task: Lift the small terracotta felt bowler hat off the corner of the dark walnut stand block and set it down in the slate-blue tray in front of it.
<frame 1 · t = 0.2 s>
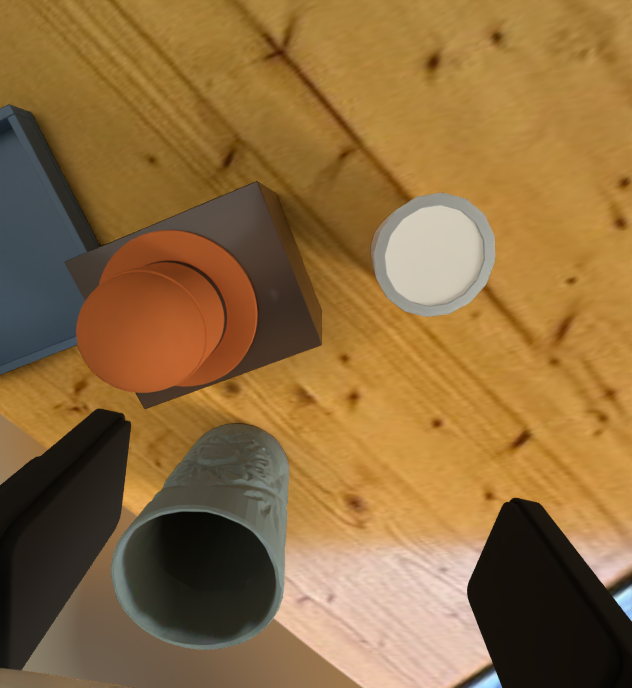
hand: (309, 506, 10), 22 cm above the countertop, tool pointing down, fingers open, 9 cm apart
shot glass: (408, 249, 30), on the countertop
hat: (179, 311, 22), point 9 cm above the countertop, touching stand block
grey-green cup: (237, 464, 35), on the countertop
tray: (10, 256, 30), on the countertop
stand block: (231, 281, 30), on the countertop
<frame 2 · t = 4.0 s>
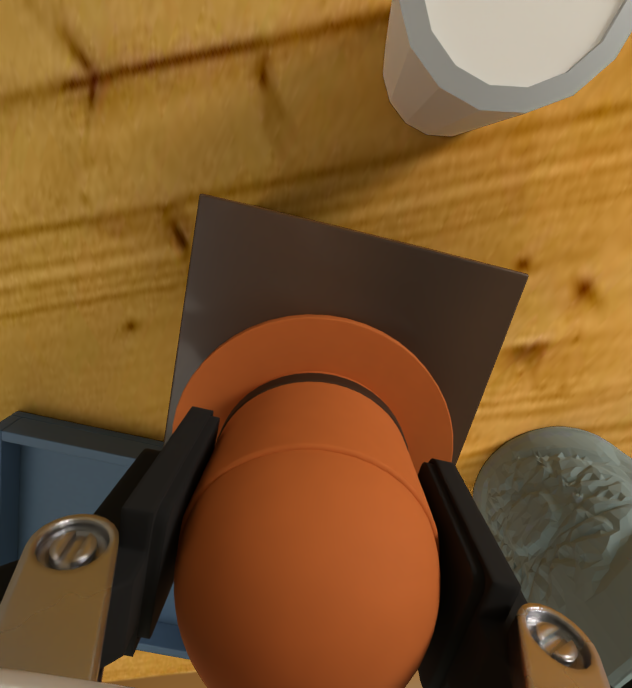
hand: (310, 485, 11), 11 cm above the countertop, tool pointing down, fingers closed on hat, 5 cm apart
shot glass: (447, 65, 18), on the countertop
hat: (312, 447, 13), point 9 cm above the countertop, touching gripper, stand block
grey-green cup: (540, 489, 24), on the countertop
tray: (142, 534, 25), on the countertop
stand block: (320, 337, 21), on the countertop
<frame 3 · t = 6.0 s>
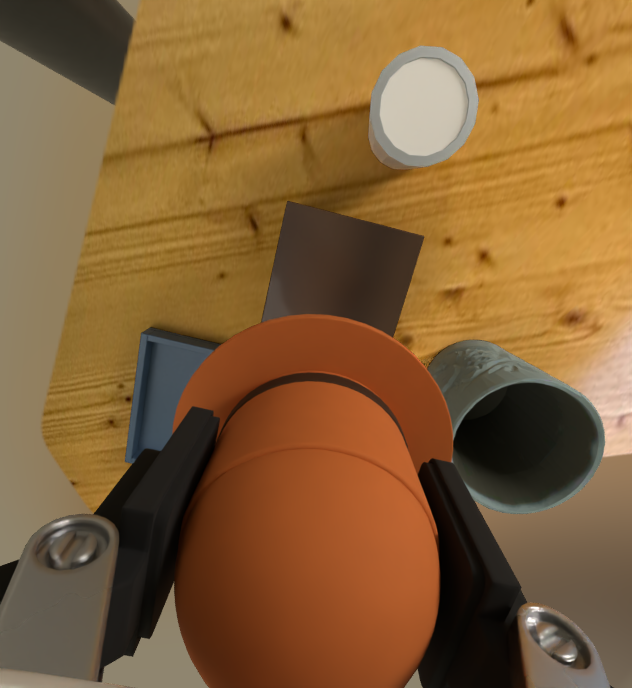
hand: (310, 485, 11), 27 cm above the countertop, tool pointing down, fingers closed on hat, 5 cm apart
shot glass: (402, 132, 33), on the countertop
hat: (312, 447, 13), point 25 cm above the countertop, touching gripper
grey-green cup: (465, 382, 39), on the countertop
tray: (219, 409, 40), on the countertop
stand block: (331, 283, 36), on the countertop
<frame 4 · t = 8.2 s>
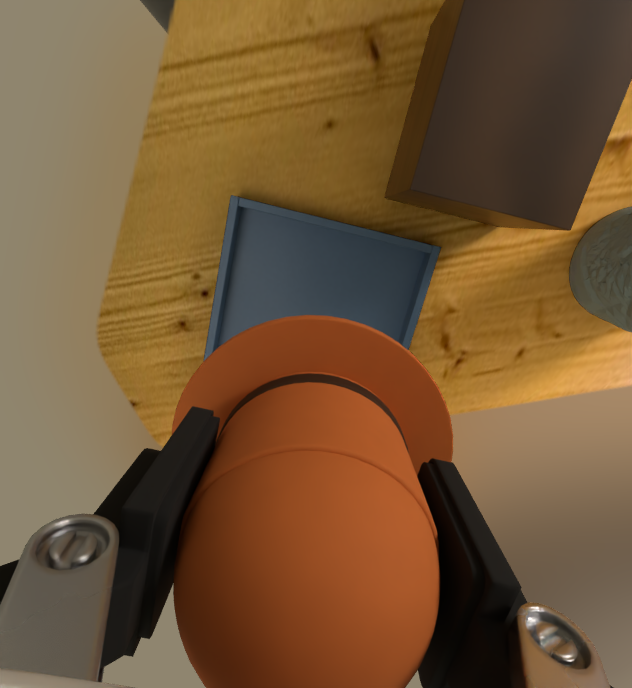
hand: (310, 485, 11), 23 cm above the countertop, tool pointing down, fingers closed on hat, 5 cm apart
hat: (312, 448, 13), point 21 cm above the countertop, touching gripper
grey-green cup: (619, 265, 31), on the countertop
tray: (316, 305, 32), on the countertop
stand block: (467, 132, 29), on the countertop
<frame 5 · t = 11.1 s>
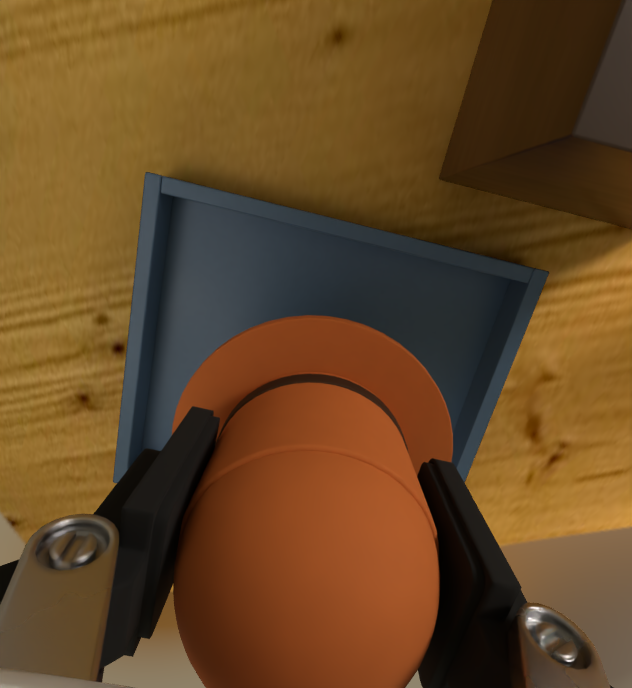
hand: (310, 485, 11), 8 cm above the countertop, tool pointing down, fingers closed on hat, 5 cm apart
hat: (312, 448, 13), point 6 cm above the countertop, touching gripper
tray: (312, 369, 19), on the countertop
stand block: (603, 52, 15), on the countertop
when the fingers open (2 cm above the countertop, at t = 12.9 s): hat stays where it is, resting on tray.
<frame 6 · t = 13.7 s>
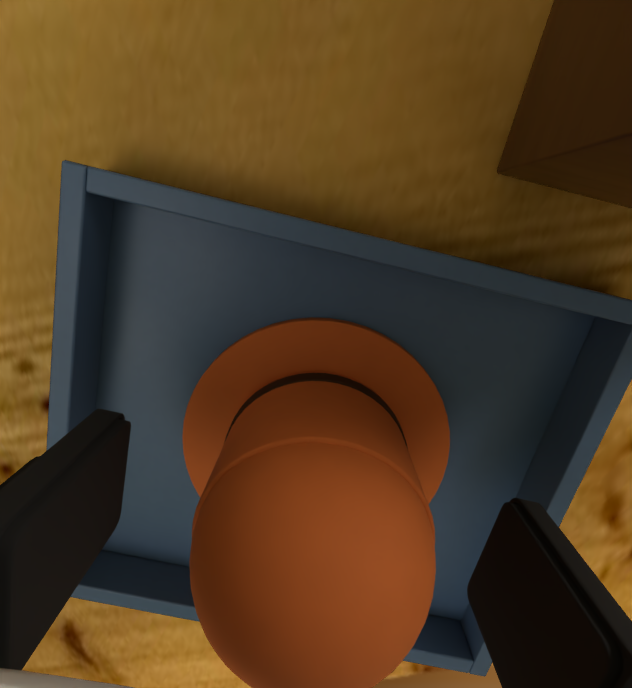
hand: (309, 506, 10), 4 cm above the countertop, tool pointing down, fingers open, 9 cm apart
hat: (315, 443, 13), resting on tray
tray: (314, 433, 14), on the countertop
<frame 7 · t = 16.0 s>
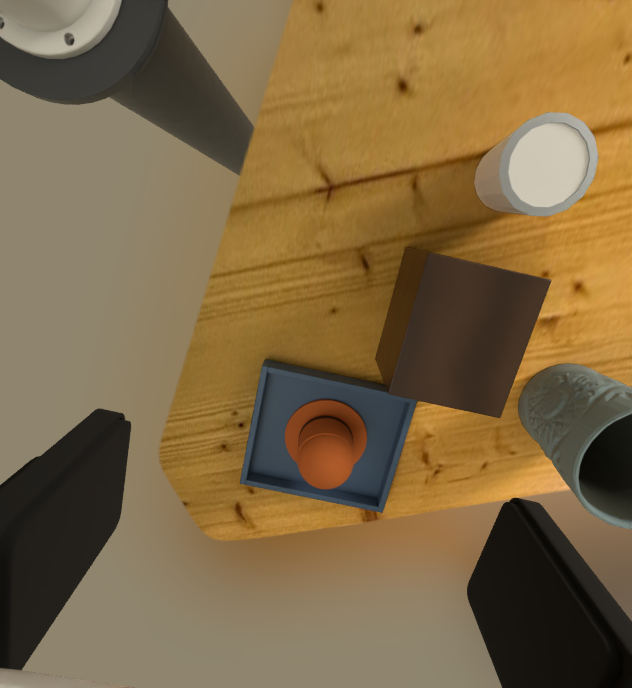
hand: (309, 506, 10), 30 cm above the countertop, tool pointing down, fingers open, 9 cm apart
shot glass: (506, 177, 36), on the countertop
hat: (325, 436, 42), resting on tray
grey-green cup: (557, 402, 41), on the countertop
tray: (325, 433, 43), on the countertop
stand block: (435, 315, 39), on the countertop
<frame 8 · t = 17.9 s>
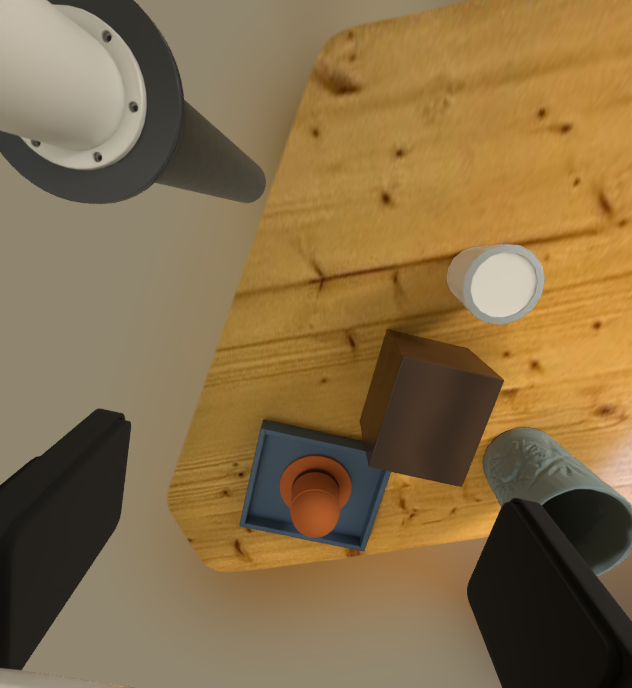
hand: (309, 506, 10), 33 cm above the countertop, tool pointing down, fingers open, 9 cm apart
shot glass: (473, 274, 41), on the countertop
hat: (315, 485, 48), resting on tray
grey-green cup: (516, 459, 48), on the countertop
tray: (315, 482, 49), on the countertop
stand block: (412, 385, 45), on the countertop
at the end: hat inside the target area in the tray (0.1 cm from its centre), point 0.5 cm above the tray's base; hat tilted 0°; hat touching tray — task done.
